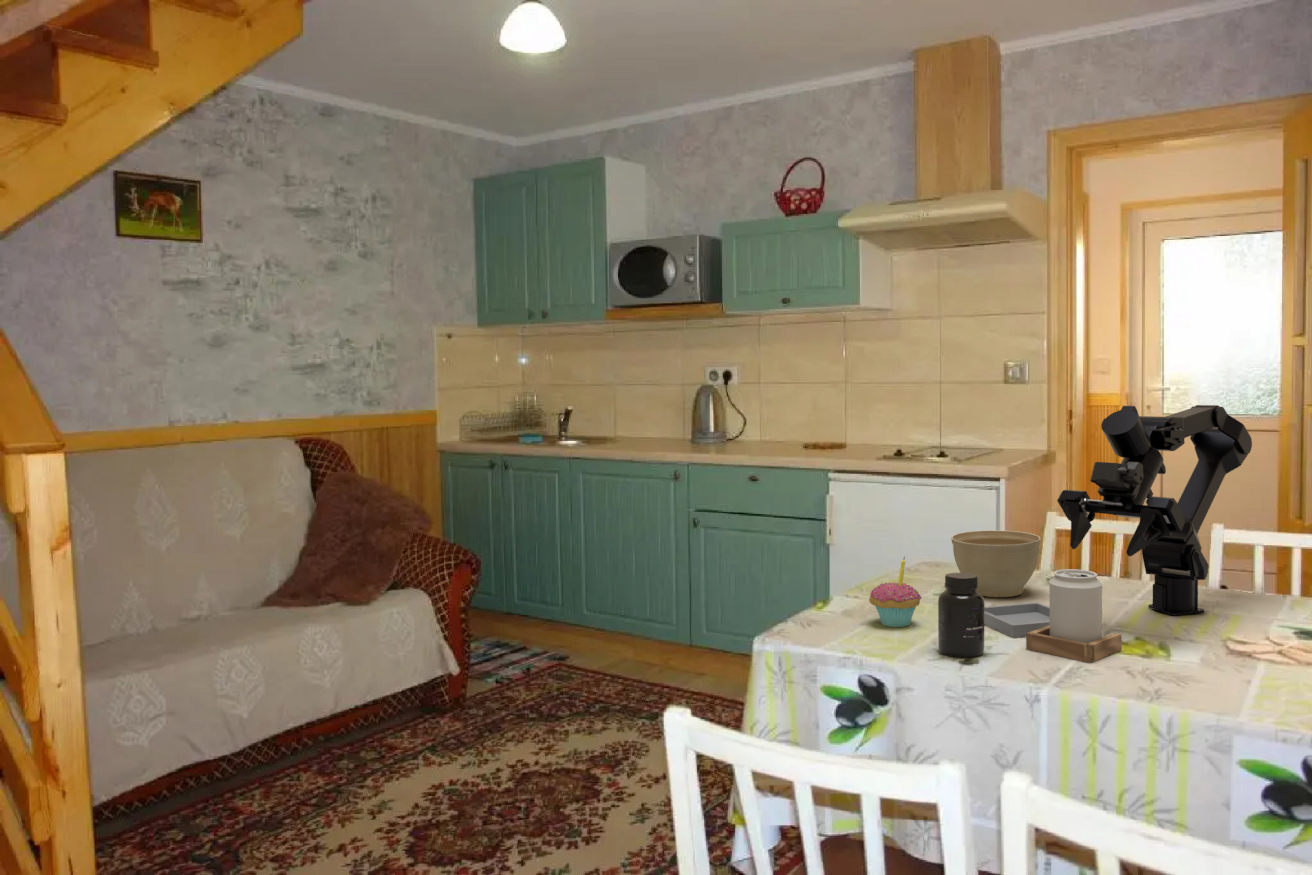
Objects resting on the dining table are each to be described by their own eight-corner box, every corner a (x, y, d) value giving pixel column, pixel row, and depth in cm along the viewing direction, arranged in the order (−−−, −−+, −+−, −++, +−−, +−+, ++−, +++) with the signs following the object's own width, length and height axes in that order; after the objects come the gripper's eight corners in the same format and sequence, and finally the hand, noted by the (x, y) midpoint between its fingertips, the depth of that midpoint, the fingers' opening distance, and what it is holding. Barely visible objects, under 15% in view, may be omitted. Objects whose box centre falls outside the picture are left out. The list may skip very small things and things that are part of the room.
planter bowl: (968, 580, 208) (967, 527, 207) (1050, 588, 198) (1050, 533, 197) (939, 596, 195) (939, 540, 194) (1026, 606, 185) (1026, 546, 184)
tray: (1038, 613, 180) (1038, 602, 180) (1082, 630, 167) (1082, 618, 167) (972, 619, 177) (972, 607, 177) (1013, 637, 165) (1013, 625, 165)
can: (1107, 656, 153) (1107, 577, 152) (1054, 655, 154) (1053, 576, 154) (1096, 643, 160) (1096, 567, 159) (1045, 641, 162) (1045, 566, 161)
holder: (1057, 637, 164) (1057, 622, 164) (1121, 650, 156) (1121, 634, 156) (1026, 648, 158) (1026, 633, 158) (1090, 662, 150) (1090, 646, 150)
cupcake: (929, 622, 176) (928, 553, 175) (904, 632, 170) (903, 561, 169) (885, 615, 182) (884, 548, 181) (860, 625, 176) (858, 556, 175)
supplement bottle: (978, 660, 153) (977, 581, 152) (932, 655, 157) (931, 577, 156) (989, 649, 159) (989, 572, 158) (945, 644, 162) (944, 569, 162)
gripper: (1063, 441, 171) (1026, 512, 165) (1177, 446, 157) (1141, 524, 151) (1087, 485, 177) (1052, 555, 171) (1199, 493, 162) (1165, 571, 156)
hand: (1099, 550), depth 162 cm, fingers open, 9 cm apart
